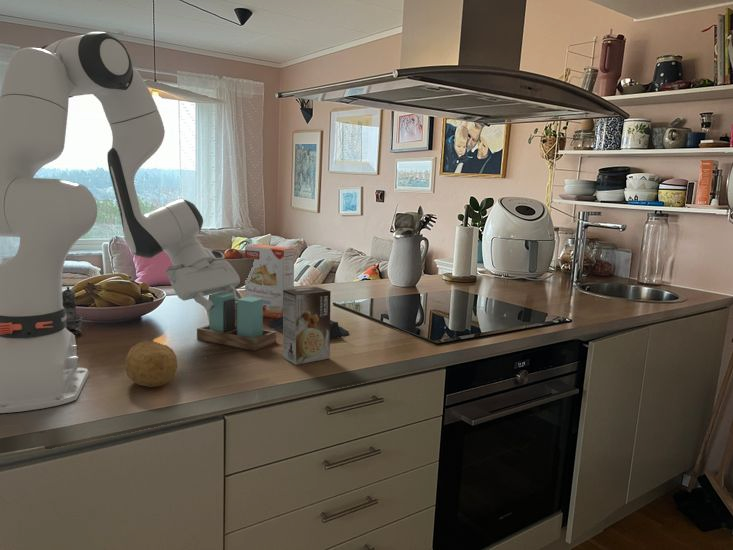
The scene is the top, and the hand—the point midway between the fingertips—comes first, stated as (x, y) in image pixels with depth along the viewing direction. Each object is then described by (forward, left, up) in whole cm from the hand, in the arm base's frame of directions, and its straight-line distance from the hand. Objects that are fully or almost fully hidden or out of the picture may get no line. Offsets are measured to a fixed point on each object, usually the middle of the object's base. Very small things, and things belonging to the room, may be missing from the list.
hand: (223, 305), depth 139 cm
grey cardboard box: (-23, -13, -9) cm, 28 cm away
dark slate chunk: (-1, -23, -9) cm, 24 cm away
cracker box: (+19, -19, -9) cm, 28 cm away
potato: (-26, +21, -9) cm, 35 cm away
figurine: (+19, +34, -9) cm, 40 cm away
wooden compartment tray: (-3, -2, -9) cm, 9 cm away
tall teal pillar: (+1, 0, -7) cm, 7 cm away
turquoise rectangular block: (-6, -5, -7) cm, 11 cm away
